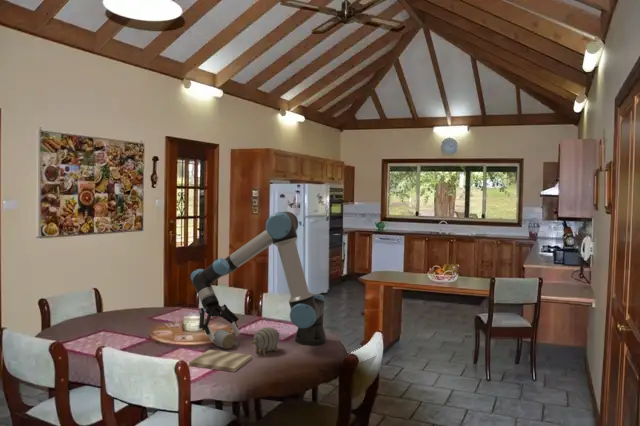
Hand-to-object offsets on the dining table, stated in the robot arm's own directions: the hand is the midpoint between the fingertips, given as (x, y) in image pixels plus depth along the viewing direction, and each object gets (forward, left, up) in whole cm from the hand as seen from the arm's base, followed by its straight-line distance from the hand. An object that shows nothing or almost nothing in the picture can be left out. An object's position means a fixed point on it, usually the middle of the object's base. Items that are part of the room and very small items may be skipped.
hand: (225, 337), depth 245 cm
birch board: (-6, +18, -5) cm, 20 cm away
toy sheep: (-18, -2, -5) cm, 19 cm away
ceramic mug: (+1, -2, -5) cm, 6 cm away
